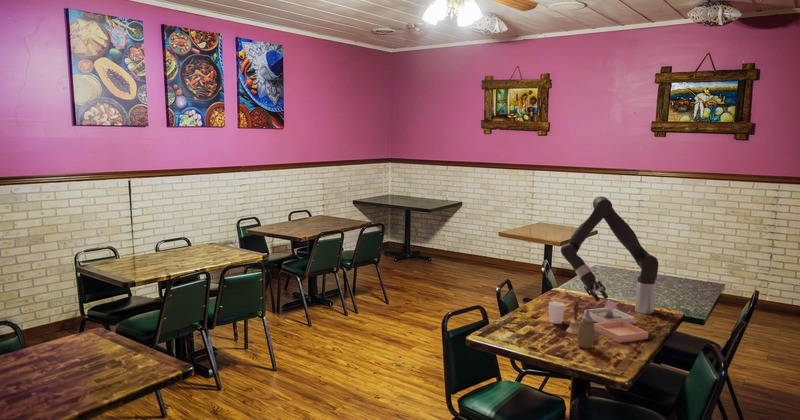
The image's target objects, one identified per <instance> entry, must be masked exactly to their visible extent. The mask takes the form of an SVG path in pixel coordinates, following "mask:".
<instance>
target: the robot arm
mask: <svg viewBox="0 0 800 420" xmlns="http://www.w3.org/2000/svg"><path fill="white" fill-rule="evenodd" d="M592 207H593V210H592V213H591V214H590V216H588V218H586V220H585V221H583V222H582V223H581V224H580V225H579V226H578V228H576V229H575V231H574V232H573V234H572V235H571V237H570V239H571V240H570V241H569V243H568V244H567V243H566V244H562V245H561V248H560V252H561V255H562V256H563V258H564V259H565V260H566V261H567V262H568V263H569V264H570V266H571V267H572V269H573V270H574V271H575V273H576V275H577V277H578V278H579V280H580V281H581V283H582V284H583V285H584V286H583V288H584V290H585V291H586V293H587V294H588V296H592V297H593V299H594V301H596V302H597V303H598V302H599V301H600V300H601V299H600V297H599V296H598V294H597V293H596V292H599V294H601V296H602V297H603V299H604V300H607V299H609V296H608V294H607V293H606V290H607V289H606V287H605V285H604V283H602V281H601V280H597V281H596V279H597V278H596V277H597V276H595V274H594V273H593V271H592V270H591V268H590V267H589V266H588V265H587V264H586V262H585V261H584V259H583V258H582V257H581V256H579V255H578V254H577V253H578V251H579V250H580V249H581V246H582V244H583V243H584V242H585V241H586V240H587V238H588V237H589V235H590V234H591V233H592V231H593V230H594V229H595V228H596V227H597V225H599V223H600V222H601V221H602V220H604V221H605V223H607V225H608V227H609V229H610V231H611V232H612V233H613V235H614V236H615V237H616V239H618V241H619V242H620V243H621V245H622V246H623V247H624V248H625V249H626V250H627V252H629V253H630V255H631V257H632V258H633V260H634V261H635V262H636V265H637V266H638V267H639V268H640V274H639V275H638V276H637V281H636V290H635V291H636V292H635V293H636V294H635V304H634V305H635V307H634V311H635V312H637V313H639V314H644V315H649V314H652V313H655V310H654V309H655V301H656V296H655V287H656V280H657V277H658V273H659V259H658V258H657V257H656V256H654V255H652V254H650V253H649V252H648V251H647V250H645V248H644V247H643V246H642V245H641V243H640V240H639V239H638V236H637V234H636V232H635V231H634V230H633V229H632V228H631V226H630V225H629V224H628V223H627V222H626V221H625V220H624V218H622V217H621V216H620V215H619V214H618V213H617V212H616V211H615V209H614V207H613V203H612V202H611V200H609V199H608V198H607V197H605V196H596V197H595V198H594V199H593V202H592Z"/></svg>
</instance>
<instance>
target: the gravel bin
mask: <svg viewBox="0 0 800 420" xmlns="http://www.w3.org/2000/svg"><path fill="white" fill-rule="evenodd" d="M586 310H587V309H584V311H583V312H584V313H583V314H584V315H583V316H585V313H586ZM589 312H590V316H591V317H592V322H594V323H604V322H612V321H621V320H623V321H625V322H627V323H629V324H632V325H634V324H635V317H634V316H632V315H629V313H625V312H623V311H621V310H618V309H616V308H614V313H613V318H607V317H605V307H601V308H591V309H589Z"/></svg>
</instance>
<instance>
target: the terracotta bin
mask: <svg viewBox="0 0 800 420" xmlns="http://www.w3.org/2000/svg"><path fill="white" fill-rule="evenodd" d="M594 332H596V333H599V334H601V335H603V336H605V337H606V338H608V339H610V340H613V341H615V342H616V343H620V344H621V343H626V342H633V341H634V342H635V341H641V340H648V339H649V331H647V330H644V329H642V328H640V327H638V326H636V325H634V324H629V323H627V322H625V321H623V320H621V321H612V322H604V323H597V322H595V323H594Z"/></svg>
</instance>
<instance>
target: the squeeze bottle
mask: <svg viewBox="0 0 800 420" xmlns="http://www.w3.org/2000/svg"><path fill="white" fill-rule="evenodd" d="M585 310H586V313H585V316H584V315H581V320H579V322H580V323H579V328H578V333H577V334H576V340H577V344H578V346H579V348H580V347H581V348H583V349H591V348H592V347H593V345H594V342H595V340H596V339H595V337H596V336H595V331H594V324H595V322H594V321H593V320H592V317H591V316H590V312H589V310H590V309H585Z"/></svg>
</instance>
